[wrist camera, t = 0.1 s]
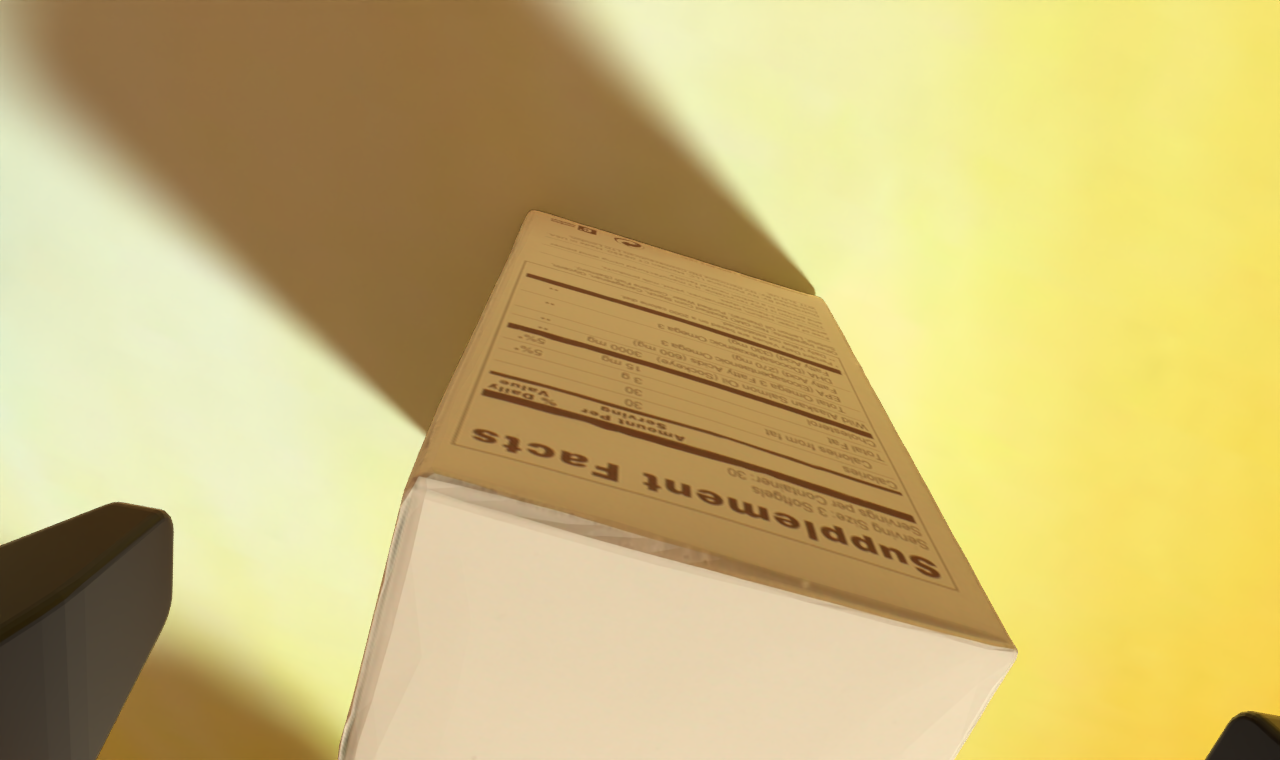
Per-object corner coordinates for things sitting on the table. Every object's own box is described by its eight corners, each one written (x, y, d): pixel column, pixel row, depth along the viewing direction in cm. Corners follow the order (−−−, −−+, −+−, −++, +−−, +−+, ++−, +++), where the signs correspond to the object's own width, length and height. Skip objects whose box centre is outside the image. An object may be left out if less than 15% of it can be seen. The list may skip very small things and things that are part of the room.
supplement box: (724, 543, 25) (794, 1050, 13) (452, 465, 24) (272, 939, 12) (834, 292, 22) (1046, 661, 10) (529, 192, 21) (390, 475, 9)
